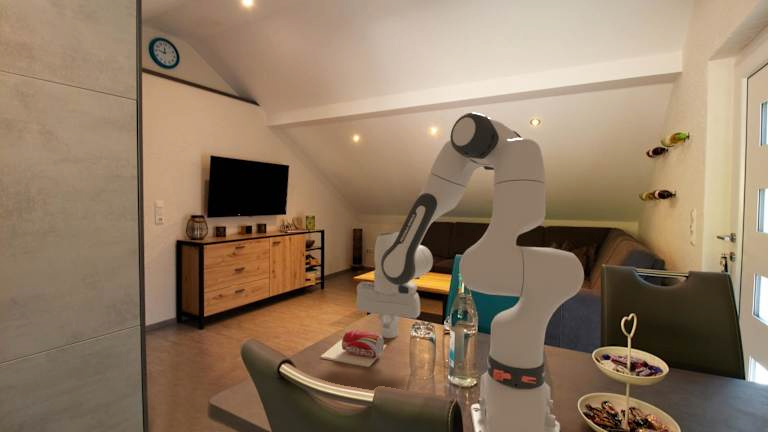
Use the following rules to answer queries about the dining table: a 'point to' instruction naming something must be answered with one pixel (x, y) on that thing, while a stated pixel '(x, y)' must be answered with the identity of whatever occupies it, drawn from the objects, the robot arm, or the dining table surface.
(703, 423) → the dining table surface
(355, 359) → the mat
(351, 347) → the soda can
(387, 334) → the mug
